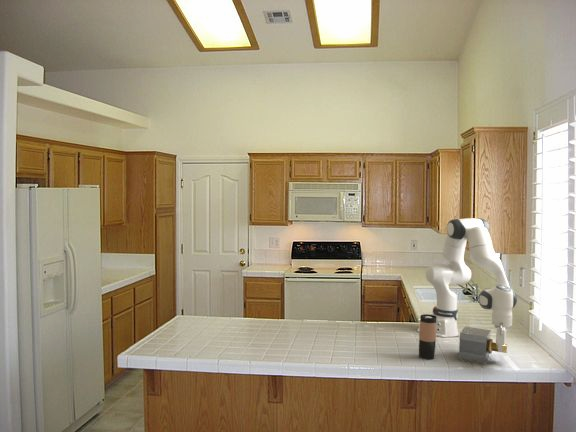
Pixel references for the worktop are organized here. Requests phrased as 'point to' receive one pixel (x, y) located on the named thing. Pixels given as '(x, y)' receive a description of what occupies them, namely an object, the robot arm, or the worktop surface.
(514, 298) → the robot arm
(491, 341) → the brass collar peg
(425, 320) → the travel mug
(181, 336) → the worktop surface
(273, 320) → the worktop surface
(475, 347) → the housing
